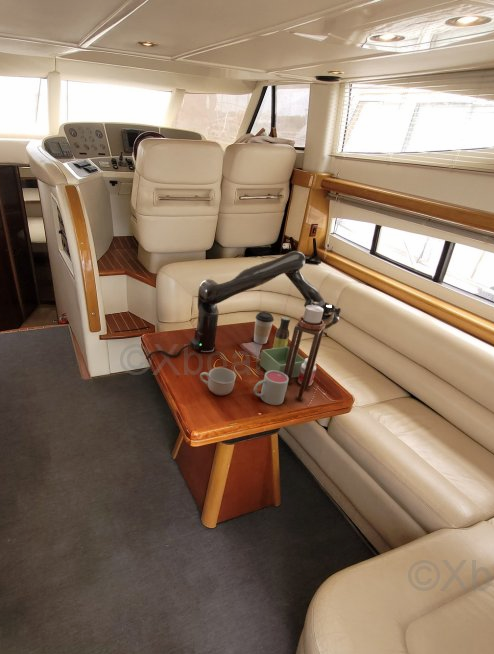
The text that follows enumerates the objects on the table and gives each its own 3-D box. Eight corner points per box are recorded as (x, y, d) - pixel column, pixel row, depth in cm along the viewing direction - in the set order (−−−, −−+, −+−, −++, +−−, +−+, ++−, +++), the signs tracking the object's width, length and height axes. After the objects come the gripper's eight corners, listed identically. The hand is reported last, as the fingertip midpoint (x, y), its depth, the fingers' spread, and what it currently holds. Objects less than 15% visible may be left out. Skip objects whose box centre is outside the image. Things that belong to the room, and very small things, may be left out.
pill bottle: (306, 378, 170) (312, 356, 164) (314, 385, 165) (321, 363, 159) (294, 379, 167) (300, 357, 162) (302, 387, 163) (308, 364, 157)
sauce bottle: (286, 359, 183) (295, 321, 173) (274, 360, 181) (282, 321, 172) (281, 353, 188) (289, 315, 178) (269, 353, 187) (277, 315, 177)
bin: (276, 380, 166) (280, 365, 162) (259, 364, 177) (261, 350, 173) (303, 375, 171) (307, 361, 167) (284, 360, 182) (287, 346, 178)
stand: (286, 381, 165) (303, 313, 150) (307, 389, 162) (327, 319, 146) (278, 393, 157) (295, 321, 142) (300, 401, 154) (320, 328, 138)
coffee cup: (268, 337, 202) (273, 311, 195) (269, 345, 194) (275, 318, 187) (251, 335, 202) (256, 309, 195) (251, 343, 195) (256, 316, 187)
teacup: (235, 387, 158) (238, 371, 154) (229, 401, 149) (232, 384, 145) (203, 379, 161) (205, 363, 157) (195, 393, 152) (197, 375, 148)
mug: (275, 390, 159) (280, 369, 154) (288, 403, 152) (293, 381, 147) (246, 394, 154) (250, 373, 150) (257, 408, 147) (261, 386, 142)
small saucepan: (311, 311, 157) (315, 296, 153) (327, 315, 154) (332, 300, 151) (299, 324, 143) (303, 308, 140) (317, 329, 141) (321, 313, 138)
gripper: (310, 300, 169) (306, 290, 154) (344, 309, 163) (342, 299, 148) (305, 316, 169) (300, 308, 154) (338, 325, 163) (336, 318, 149)
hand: (321, 304), depth 151 cm, fingers open, 8 cm apart
